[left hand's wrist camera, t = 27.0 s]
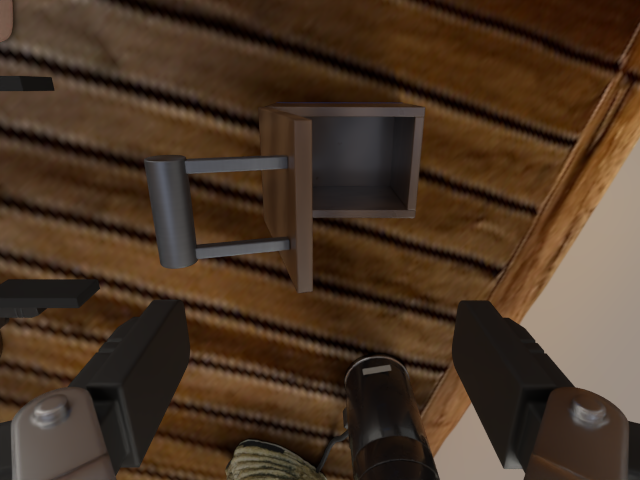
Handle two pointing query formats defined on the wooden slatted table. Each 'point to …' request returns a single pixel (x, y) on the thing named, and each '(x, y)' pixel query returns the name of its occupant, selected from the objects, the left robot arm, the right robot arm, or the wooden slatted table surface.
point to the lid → (278, 199)
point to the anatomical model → (6, 19)
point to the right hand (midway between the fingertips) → (66, 198)
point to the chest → (363, 157)
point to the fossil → (268, 463)
